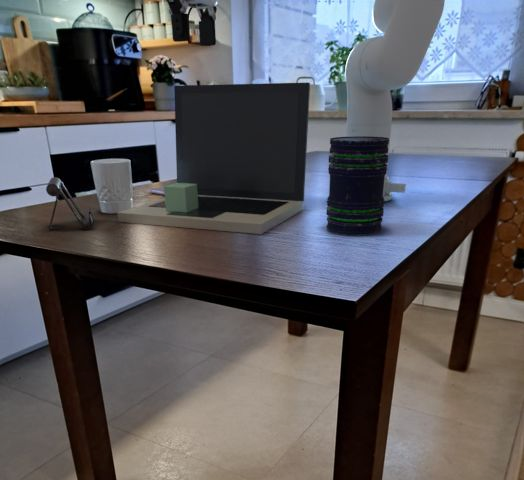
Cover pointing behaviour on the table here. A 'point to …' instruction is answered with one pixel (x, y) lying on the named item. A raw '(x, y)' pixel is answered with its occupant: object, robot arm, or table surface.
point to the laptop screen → (243, 139)
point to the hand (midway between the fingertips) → (195, 43)
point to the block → (181, 197)
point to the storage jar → (356, 185)
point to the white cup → (113, 184)
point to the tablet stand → (55, 190)
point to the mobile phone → (157, 190)
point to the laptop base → (217, 214)
